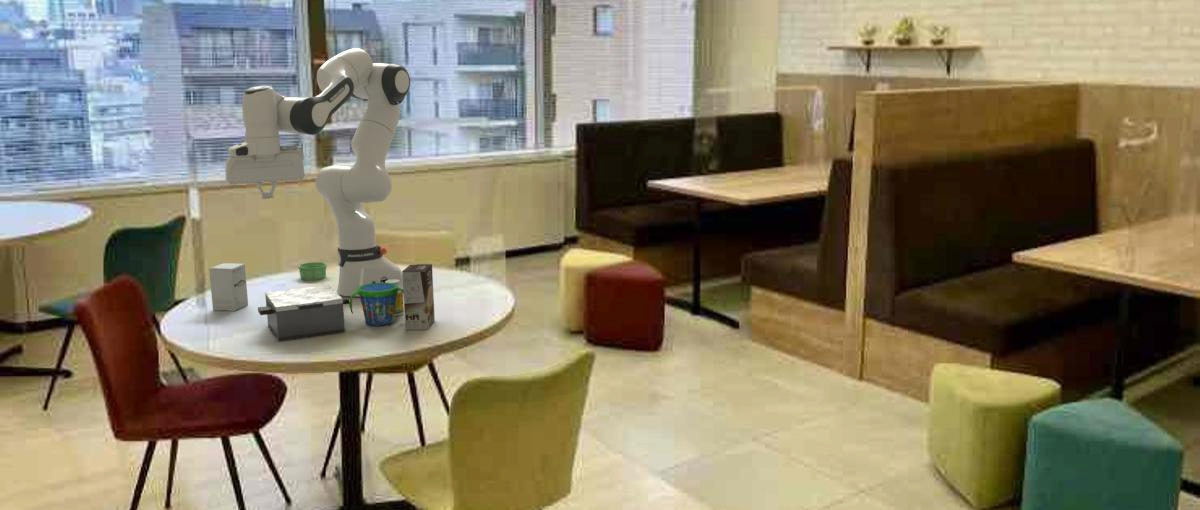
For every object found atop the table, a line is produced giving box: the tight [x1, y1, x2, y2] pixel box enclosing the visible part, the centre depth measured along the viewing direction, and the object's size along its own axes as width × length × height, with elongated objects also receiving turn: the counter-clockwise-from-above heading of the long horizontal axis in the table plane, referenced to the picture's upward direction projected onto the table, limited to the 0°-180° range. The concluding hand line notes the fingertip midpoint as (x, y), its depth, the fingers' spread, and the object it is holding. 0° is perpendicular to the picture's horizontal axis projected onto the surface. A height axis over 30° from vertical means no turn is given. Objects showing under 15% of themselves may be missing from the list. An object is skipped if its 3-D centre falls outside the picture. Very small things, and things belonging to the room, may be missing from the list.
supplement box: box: [208, 262, 249, 312], centre depth 285 cm, size 7×7×13 cm
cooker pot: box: [257, 296, 350, 342], centre depth 262 cm, size 23×17×8 cm
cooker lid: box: [264, 284, 343, 312], centre depth 260 cm, size 17×19×1 cm
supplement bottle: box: [385, 279, 404, 317], centre depth 276 cm, size 5×5×10 cm
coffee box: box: [401, 263, 436, 331], centre depth 263 cm, size 9×6×16 cm
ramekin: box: [298, 261, 328, 281], centre depth 322 cm, size 9×9×4 cm
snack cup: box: [348, 283, 403, 327], centre depth 267 cm, size 16×10×10 cm
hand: (267, 198), depth 266 cm, fingers closed
